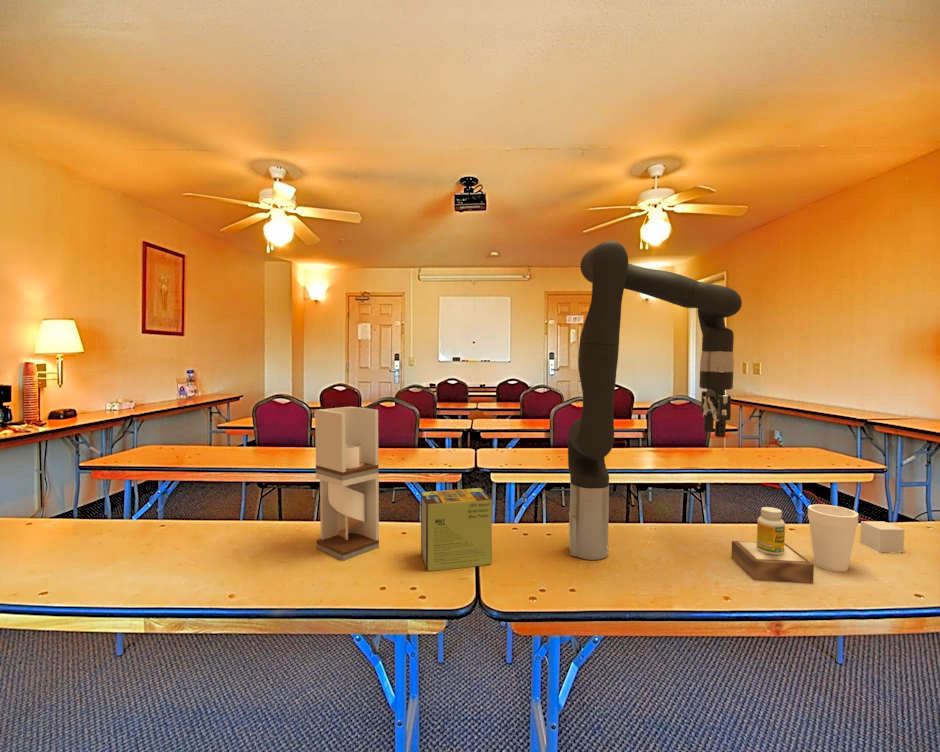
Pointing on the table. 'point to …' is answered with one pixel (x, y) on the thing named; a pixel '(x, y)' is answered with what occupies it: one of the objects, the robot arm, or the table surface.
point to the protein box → (456, 529)
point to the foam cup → (832, 535)
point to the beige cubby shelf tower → (348, 480)
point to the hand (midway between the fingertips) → (713, 434)
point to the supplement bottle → (770, 531)
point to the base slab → (772, 563)
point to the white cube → (882, 536)
